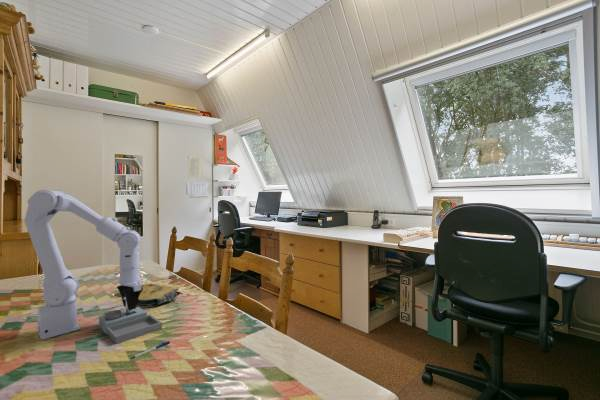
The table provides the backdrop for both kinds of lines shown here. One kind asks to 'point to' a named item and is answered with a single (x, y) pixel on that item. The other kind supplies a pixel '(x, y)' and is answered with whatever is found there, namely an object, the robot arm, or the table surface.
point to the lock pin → (128, 312)
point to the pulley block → (156, 295)
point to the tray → (133, 328)
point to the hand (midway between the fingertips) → (129, 307)
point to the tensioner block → (119, 317)
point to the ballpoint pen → (151, 349)
